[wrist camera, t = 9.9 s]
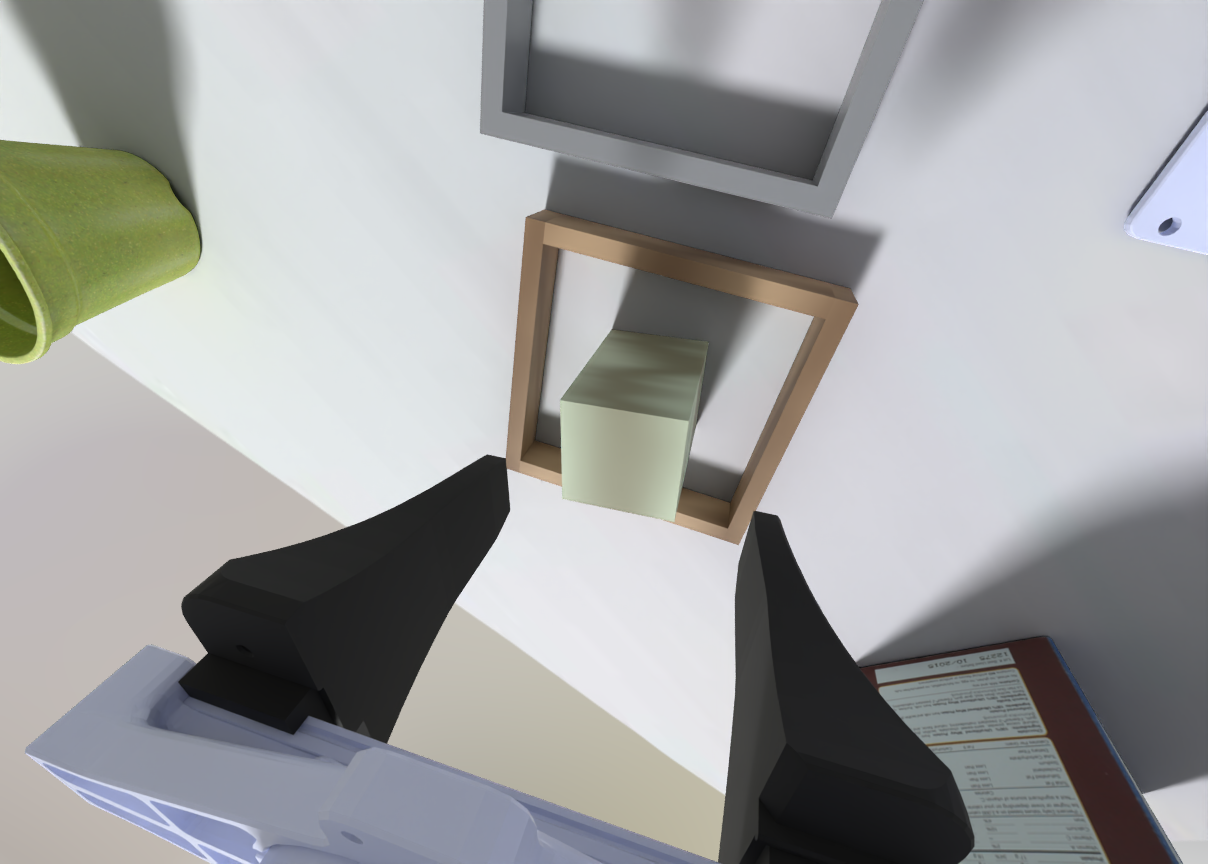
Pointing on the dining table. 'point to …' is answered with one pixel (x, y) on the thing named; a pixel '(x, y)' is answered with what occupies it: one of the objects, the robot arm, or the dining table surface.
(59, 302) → the plant pot
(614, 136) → the charcoal bin
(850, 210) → the dining table surface
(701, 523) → the brown wooden square frame
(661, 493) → the sage block
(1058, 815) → the protein box
